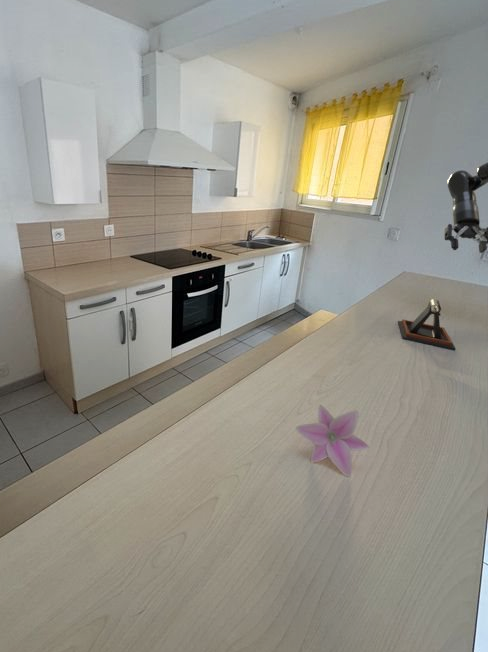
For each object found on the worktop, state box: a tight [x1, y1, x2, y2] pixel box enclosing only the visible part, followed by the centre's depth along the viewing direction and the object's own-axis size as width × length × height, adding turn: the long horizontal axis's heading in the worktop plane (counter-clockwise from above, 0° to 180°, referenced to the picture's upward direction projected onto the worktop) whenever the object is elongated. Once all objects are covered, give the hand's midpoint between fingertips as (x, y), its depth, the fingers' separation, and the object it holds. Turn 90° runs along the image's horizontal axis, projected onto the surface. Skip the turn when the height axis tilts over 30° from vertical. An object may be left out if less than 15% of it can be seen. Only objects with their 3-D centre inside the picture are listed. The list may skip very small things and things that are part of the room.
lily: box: [295, 404, 370, 478], centre depth 63 cm, size 12×12×10 cm
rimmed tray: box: [397, 319, 456, 351], centre depth 115 cm, size 15×15×2 cm
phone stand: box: [410, 299, 442, 340], centre depth 113 cm, size 9×6×12 cm, turn 58°
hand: (469, 250), depth 119 cm, fingers open, 8 cm apart
